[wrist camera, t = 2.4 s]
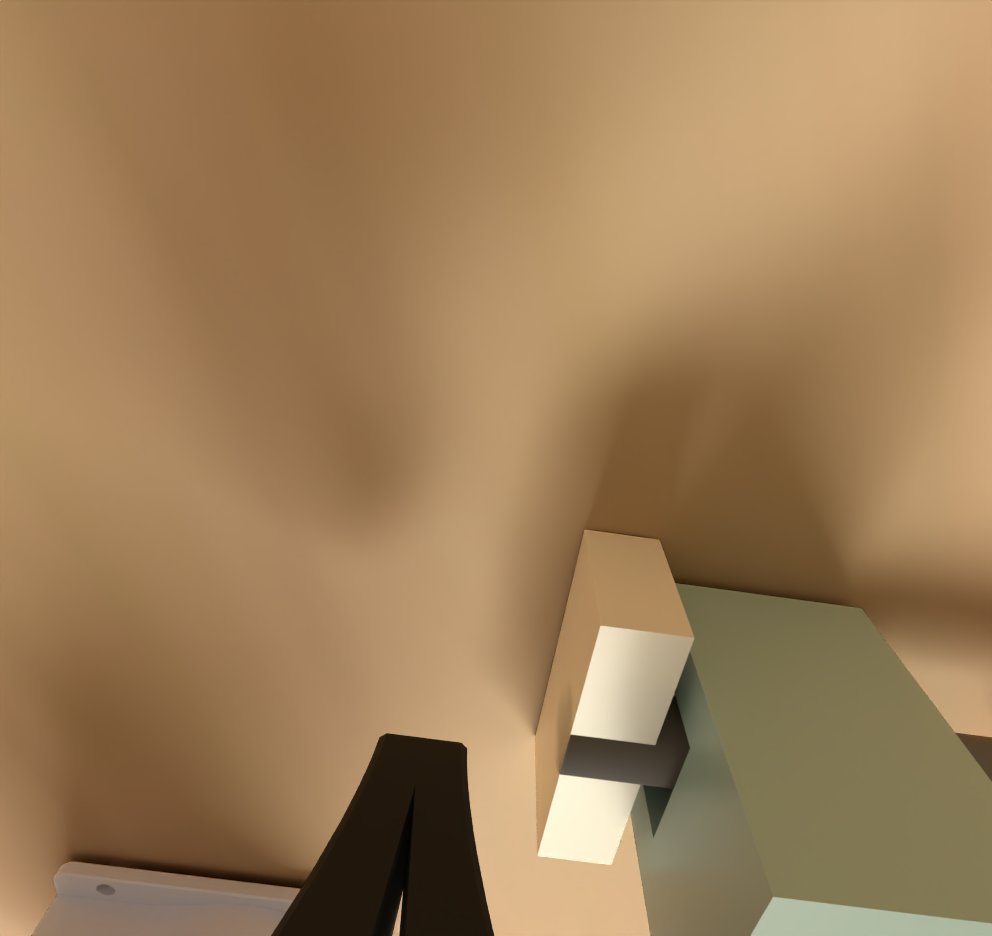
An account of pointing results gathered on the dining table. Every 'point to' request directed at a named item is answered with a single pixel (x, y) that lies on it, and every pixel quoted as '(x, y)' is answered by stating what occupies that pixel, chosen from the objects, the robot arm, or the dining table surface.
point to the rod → (674, 755)
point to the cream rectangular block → (606, 687)
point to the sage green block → (811, 786)
